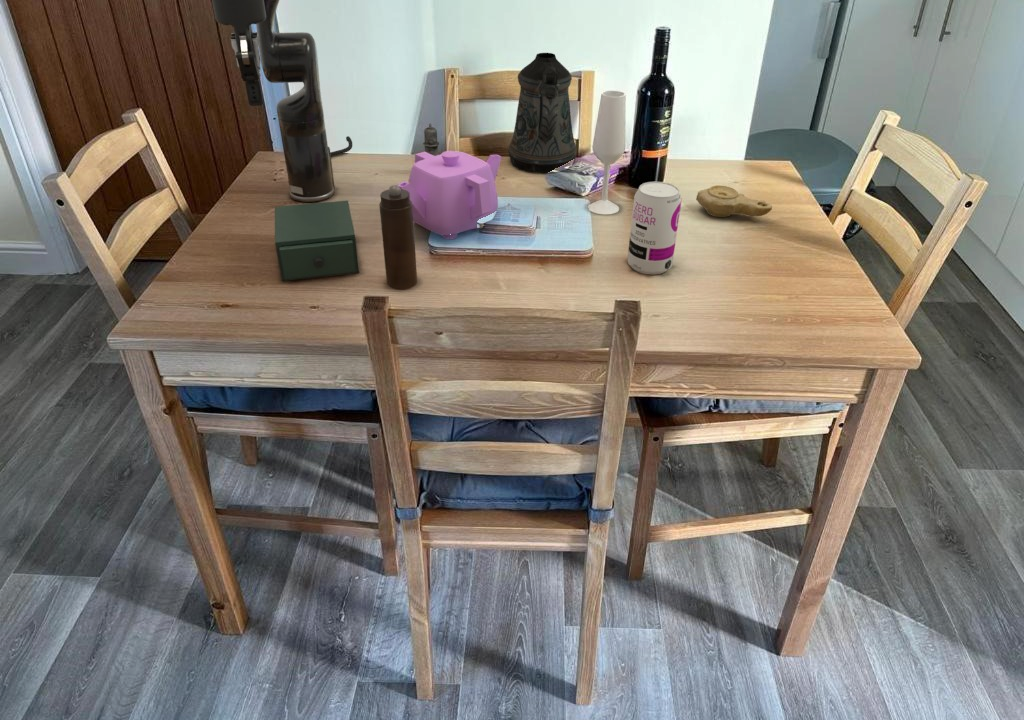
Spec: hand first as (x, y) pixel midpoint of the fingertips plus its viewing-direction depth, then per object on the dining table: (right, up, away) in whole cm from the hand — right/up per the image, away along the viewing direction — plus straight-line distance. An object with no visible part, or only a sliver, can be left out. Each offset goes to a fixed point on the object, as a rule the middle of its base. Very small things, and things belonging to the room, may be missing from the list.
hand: (256, 104), depth 124 cm
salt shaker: (+23, +1, +54) cm, 58 cm away
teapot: (+30, -14, +31) cm, 45 cm away
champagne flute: (+61, -9, +39) cm, 73 cm away
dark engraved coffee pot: (+50, +6, +60) cm, 79 cm away
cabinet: (+6, -23, +18) cm, 30 cm away
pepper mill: (+22, -28, +11) cm, 37 cm away
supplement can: (+67, -24, +17) cm, 74 cm away
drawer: (+6, -23, +16) cm, 29 cm away
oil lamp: (+88, -11, +37) cm, 96 cm away
